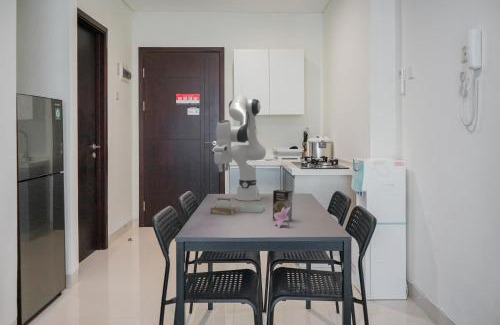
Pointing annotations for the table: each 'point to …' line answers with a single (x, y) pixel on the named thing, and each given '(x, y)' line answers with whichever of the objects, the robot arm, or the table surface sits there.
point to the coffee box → (282, 202)
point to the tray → (253, 208)
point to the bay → (223, 210)
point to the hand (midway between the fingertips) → (223, 171)
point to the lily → (281, 216)
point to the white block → (223, 203)
